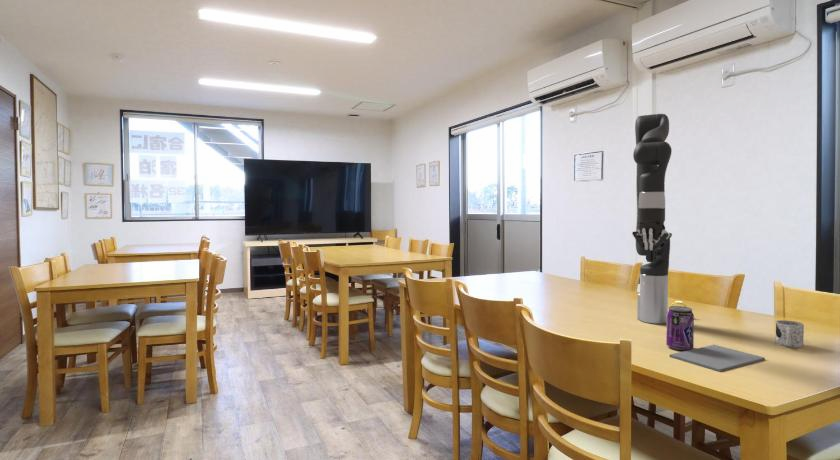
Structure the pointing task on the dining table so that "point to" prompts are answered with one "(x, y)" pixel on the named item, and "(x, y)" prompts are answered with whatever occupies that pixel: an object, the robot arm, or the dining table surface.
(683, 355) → the mat
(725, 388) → the dining table surface
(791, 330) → the mug
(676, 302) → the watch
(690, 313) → the beverage can
